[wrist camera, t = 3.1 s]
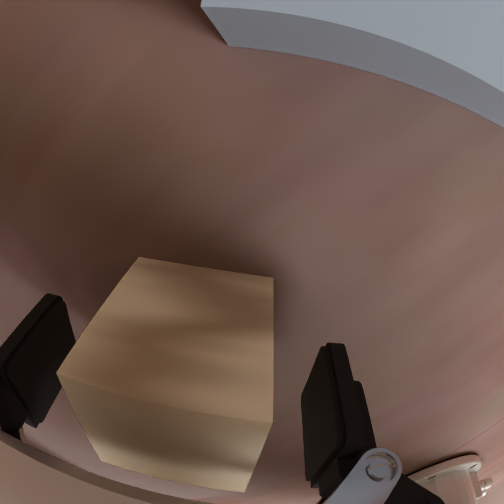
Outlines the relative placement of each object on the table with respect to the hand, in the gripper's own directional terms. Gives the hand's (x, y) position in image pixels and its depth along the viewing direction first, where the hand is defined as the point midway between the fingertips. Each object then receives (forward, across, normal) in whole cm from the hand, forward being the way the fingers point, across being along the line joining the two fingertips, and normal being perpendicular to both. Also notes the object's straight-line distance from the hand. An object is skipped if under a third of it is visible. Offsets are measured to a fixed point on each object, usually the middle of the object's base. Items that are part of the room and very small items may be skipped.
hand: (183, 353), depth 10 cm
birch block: (+2, 0, 0) cm, 2 cm away
